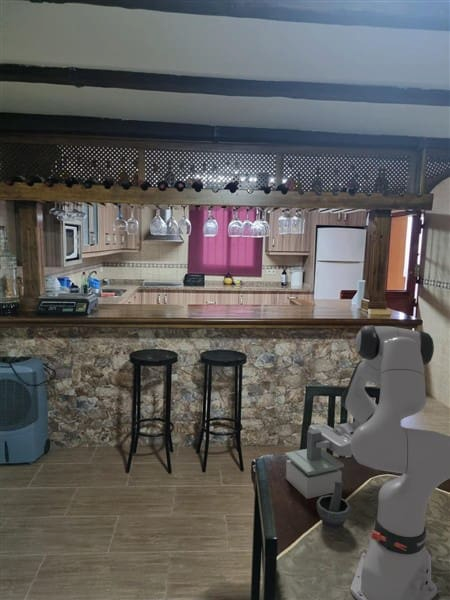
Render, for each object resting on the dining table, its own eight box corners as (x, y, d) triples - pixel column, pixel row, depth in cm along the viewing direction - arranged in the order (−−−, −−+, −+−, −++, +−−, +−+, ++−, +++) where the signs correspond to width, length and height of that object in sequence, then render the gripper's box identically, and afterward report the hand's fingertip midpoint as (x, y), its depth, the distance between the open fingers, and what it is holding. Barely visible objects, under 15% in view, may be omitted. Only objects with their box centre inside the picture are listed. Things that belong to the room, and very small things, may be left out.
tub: (317, 471, 160) (318, 454, 160) (340, 490, 147) (341, 471, 147) (285, 478, 155) (286, 460, 154) (307, 498, 142) (307, 479, 142)
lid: (318, 452, 160) (319, 421, 159) (343, 470, 146) (345, 436, 145) (284, 458, 154) (285, 426, 153) (307, 478, 141) (308, 443, 139)
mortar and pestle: (342, 540, 122) (344, 501, 120) (311, 528, 127) (313, 490, 126) (353, 520, 131) (355, 483, 130) (325, 509, 136) (326, 474, 135)
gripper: (327, 418, 164) (296, 423, 158) (362, 438, 145) (329, 445, 140) (326, 433, 164) (296, 439, 159) (362, 456, 145) (328, 463, 140)
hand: (312, 442), depth 149 cm, fingers closed on lid, 3 cm apart
